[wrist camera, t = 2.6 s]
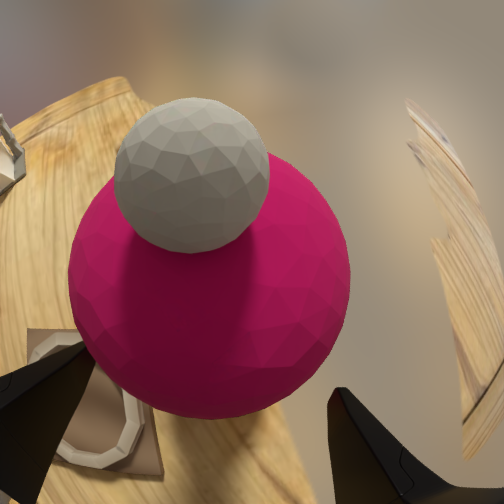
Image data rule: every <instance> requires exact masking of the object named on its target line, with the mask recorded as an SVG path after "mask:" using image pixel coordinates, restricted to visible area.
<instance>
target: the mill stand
mask: <svg viewBox="0 0 504 504" xmlns="http://www.w3.org/2000/svg"><path fill="white" fill-rule="evenodd" d="M80 341H83V339H82V337H81V335H80V333H79V331H78V329H29V328H27V365H29V364H31V363H33V362H36V361H38V360H40V359H42V358H45V357H47V356H49V355H51V354H54V353H56V352H58V351H60V350H62V349H65V348H67V347H69V346H71V345H73V344H76V343H78V342H80ZM53 459H55V460H59V461H63V462H67V463H71V464H76V465H80V466H85V467H90V468H96V469H102V470H108V471H116V472H124V473H133V474H146V475H162V474H163V473H164V468H163V463H162V458H161V454H160V449H159V444H158V438H157V433H156V427H155V421H154V414H153V408H152V406H150V405H148V404H146V403H144V402H142V401H140V400H139V399H137V398H135V397H133V396H132V395H130V394H128V393H127V392H126V391H125V390H123V389H122V388H121V387H120V386H118V385H117V384H116V383H115V382H114V381H112V380H111V379H110V378H109V377H108V376H107V374H106V373H105V372H104V371H103V369H102V368H101V367H100V366H99V364H98V363H97V362H96V364H95V367H94V370H93V372H92V374H91V377H90V380H89V382H88V385H87V387H86V390H85V392H84V395H83V397H82V399H81V401H80V403H79V405H78V407H77V409H76V411H75V413H74V415H73V417H72V419H71V421H70V423H69V425H68V427H67V429H66V431H65V433H64V435H63V438H62V440H61V442H60V444H59V446H58V449H57V451H56V453H55V455H54V458H53Z"/></svg>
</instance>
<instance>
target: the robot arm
mask: <svg viewBox="0 0 504 504" xmlns="http://www.w3.org/2000/svg"><path fill="white" fill-rule="evenodd" d="M95 364H96V361H95V359H94V358H93V357H92V355H91V354H90V352H89V351H88V349H87V347H86V345H85V343H84V341H80V342H78V343H76V344H73V345H71V346H69V347H67V348H65V349H62V350H60V351H58V352H56V353H54V354H51V355H49V356H47V357H45V358H42V359H40V360H38V361H36V362H33V363H31V364H29V365H27V366H24V367H22V368H20V369H18V370H15V371H13V372H11V373H8V374H6V375H4V376H1V377H0V504H9V502H10V500H11V498H12V499H14V500H15V501H17V502H18V503H20V504H36V501H37V498H38V496H39V493H40V490H41V488H42V485H43V482H44V480H45V477H46V475H47V474H46V473H47V472H48V470H49V467H50V465H51V462H52V460H53V458H54V455H55V453H56V451H57V449H58V446H59V444H60V442H61V440H62V438H63V435H64V433H65V431H66V429H67V427H68V425H69V423H70V421H71V419H72V417H73V415H74V413H75V411H76V409H77V407H78V405H79V403H80V401H81V399H82V397H83V395H84V392H85V390H86V387H87V385H88V382H89V380H90V377H91V374H92V372H93V370H94V367H95ZM327 420H328V445H329V452H330V460H331V468H332V475H333V484H334V492H335V501H336V504H504V488H467V487H457V486H454V485H451V484H449V483H447V482H446V481H445V480H443V479H442V478H440V477H439V476H438V475H437V474H435V473H434V472H433V471H431V470H430V469H429V468H427V467H426V466H425V465H424V464H422V463H421V462H420V461H419V460H418V459H417V458H416V457H414V456H413V455H412V454H411V453H410V452H409V451H408V450H407V449H406V448H405V447H404V446H403V445H402V444H401V443H400V442H399V441H398V440H397V439H396V438H395V437H394V436H393V435H392V434H391V433H390V432H389V431H388V430H387V429H386V428H385V427H384V426H383V425H382V424H381V423H380V422H379V421H378V420H377V419H376V418H375V416H374V415H373V414H372V413H371V412H369V410H368V409H367V408H366V407H365V406H364V405H363V404H362V403H361V402H360V401H359V400H358V399H357V398H356V397H355V396H354V395H353V394H352V393H351V392H350V390H349V389H347V388H346V387H337V388H335V389H334V391H333V393H332V395H331V397H330V399H329V401H328V404H327ZM402 446H403V447H402Z"/></svg>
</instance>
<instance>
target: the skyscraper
mask: <svg viewBox="0 0 504 504" xmlns="http://www.w3.org/2000/svg"><path fill="white" fill-rule="evenodd" d="M0 131H1V133H2V135H3V137H4V139H5V141H6V144H7V145H8V146H9V147H10V149H11V151H12V153H13V156H12V155H11V154H10V152H9V151H8V149H7V148H6V146H5V145H4V144H3V142H2V141H1V139H0V195H1V194H3V193H4V192H5V191H6V190H7V189H9V188H10V187H11V186H12V185H14V184H15V183H16V182H17V181H19V180H20V179H21V178H22V177H24V176H25V175H26V166H25V149H24V148H22V147H21V146H20V145H19V143H18V142H17V140H16V139H15V136H14V134H13V133H12V132H11V130H10V129H9V127H8V125H7V124H6V122H5V121H4V118H3V116H2V114H0Z"/></svg>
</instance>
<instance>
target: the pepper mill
mask: <svg viewBox="0 0 504 504" xmlns="http://www.w3.org/2000/svg"><path fill="white" fill-rule="evenodd" d="M68 285H69V296H70V302H71V308H72V313H73V317H74V322H75V325H76V327H77V329H78V331H79V333H80V335H81V337H82V339H83V341H84V343H85V345H86V347H87V349H88V351H89V352H90V354H91V355H92V357H93V358H94V359H95V361H96V362H97V363H98V364H99V366H100V367H101V368H102V369H103V371H104V372H105V373H106V374H107V376H108V377H109V378H110V379H111V380H112V381H114V382H115V383H116V384H117V385H118V386H120V387H121V388H122V389H123V390H125V391H126V392H127V393H128V394H130V395H132V396H133V397H135V398H137V399H139V400H140V401H142V402H144V403H146V404H148V405H150V406H152V407H154V408H155V409H158V410H161V411H165V412H168V413H171V414H175V415H178V416H182V417H188V418H198V419H210V420H212V419H223V418H232V417H239V416H243V415H246V414H249V413H253V412H256V411H259V410H262V409H265V408H267V407H269V406H271V405H273V404H274V403H276V402H278V401H280V400H282V399H284V398H285V397H287V396H289V395H290V394H292V393H293V392H294V391H295V390H296V389H298V388H299V387H300V386H301V385H302V384H304V383H305V382H306V381H307V380H308V379H309V378H311V377H312V376H313V375H314V373H315V372H316V371H317V369H318V368H319V367H320V365H321V364H322V363H323V362H324V360H325V359H326V358H327V356H328V355H329V353H330V352H331V350H332V348H333V345H334V344H335V341H336V339H337V337H338V335H339V333H340V331H341V329H342V326H343V323H344V318H345V314H346V310H347V305H348V301H349V292H350V265H349V259H348V253H347V247H346V241H345V239H344V236H343V233H342V231H341V228H340V225H339V223H338V220H337V218H336V217H335V215H334V213H333V211H332V210H331V208H330V206H329V205H328V203H327V201H326V200H325V199H324V197H323V196H322V195H321V194H320V192H319V191H318V190H317V188H316V187H315V186H314V185H313V183H312V182H311V181H310V180H308V179H307V178H306V177H305V176H304V175H303V174H301V173H300V172H299V171H298V170H297V169H295V168H294V167H293V166H292V165H291V164H289V163H287V162H285V161H284V160H282V159H280V158H278V157H276V156H274V155H272V154H270V153H268V152H267V151H266V149H265V146H264V144H263V141H262V139H261V137H260V135H259V134H258V132H257V130H256V128H255V127H254V126H253V125H252V124H251V123H250V122H249V121H248V120H247V119H246V118H245V117H244V116H243V115H242V114H240V113H238V112H237V111H235V110H233V109H231V108H230V107H228V106H226V105H224V104H222V103H220V102H218V101H215V100H209V99H202V98H185V99H178V100H175V101H172V102H169V103H166V104H163V105H160V106H157V107H155V108H153V109H152V110H150V111H149V112H148V113H146V114H145V115H144V116H142V117H141V118H140V119H139V120H137V122H136V123H135V124H134V126H133V127H132V128H131V130H130V131H129V132H128V134H127V135H126V137H125V138H124V140H123V142H122V144H121V146H120V149H119V151H118V154H117V157H116V163H115V172H114V176H113V177H112V178H111V179H110V180H109V181H108V183H107V184H106V185H105V186H104V187H103V188H102V189H101V190H100V192H99V193H98V194H97V195H96V196H95V197H94V199H93V200H92V202H91V204H90V205H89V207H88V209H87V211H86V212H85V214H84V216H83V218H82V219H81V222H80V225H79V227H78V230H77V232H76V235H75V238H74V241H73V243H72V249H71V254H70V261H69V267H68Z"/></svg>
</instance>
